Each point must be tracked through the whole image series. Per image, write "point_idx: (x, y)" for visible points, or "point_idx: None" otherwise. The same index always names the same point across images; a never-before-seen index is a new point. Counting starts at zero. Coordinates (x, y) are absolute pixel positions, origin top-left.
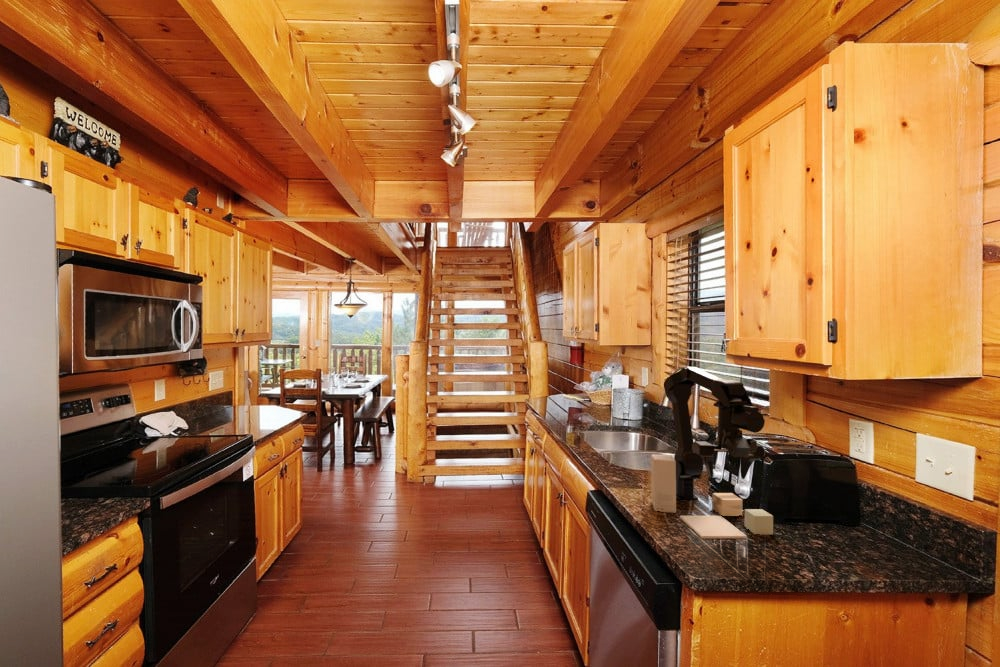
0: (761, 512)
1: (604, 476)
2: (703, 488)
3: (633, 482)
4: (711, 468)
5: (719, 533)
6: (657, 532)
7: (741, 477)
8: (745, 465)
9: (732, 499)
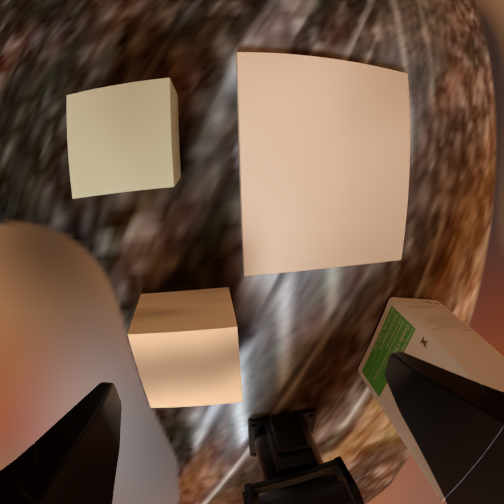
0: (99, 143)
1: (394, 470)
2: (193, 477)
3: (359, 467)
4: (466, 387)
5: (341, 82)
6: (485, 142)
7: (120, 404)
8: (63, 483)
9: (178, 337)
